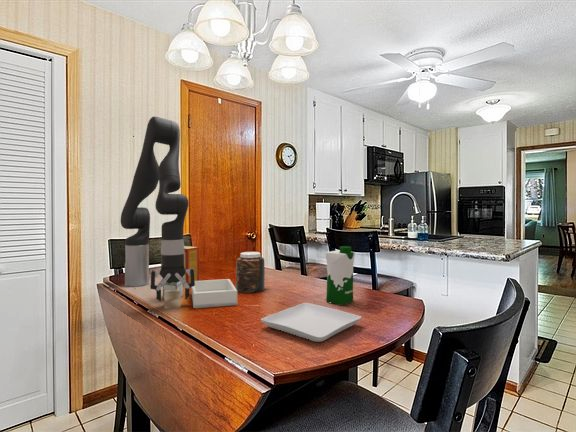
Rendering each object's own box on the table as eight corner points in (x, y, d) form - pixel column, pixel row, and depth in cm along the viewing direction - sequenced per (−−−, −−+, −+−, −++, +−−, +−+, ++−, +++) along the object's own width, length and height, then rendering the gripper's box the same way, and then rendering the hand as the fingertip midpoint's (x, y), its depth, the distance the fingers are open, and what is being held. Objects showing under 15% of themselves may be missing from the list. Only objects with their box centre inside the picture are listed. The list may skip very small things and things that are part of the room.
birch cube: (164, 308, 115) (164, 294, 115) (165, 304, 120) (165, 290, 120) (180, 307, 117) (180, 292, 116) (180, 303, 121) (180, 289, 121)
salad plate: (320, 350, 83) (321, 336, 83) (258, 329, 97) (258, 317, 97) (363, 327, 99) (363, 315, 99) (305, 312, 113) (305, 301, 113)
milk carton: (344, 307, 118) (345, 248, 117) (322, 302, 123) (322, 246, 123) (356, 301, 124) (357, 246, 124) (335, 297, 130) (335, 244, 130)
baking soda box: (172, 282, 154) (172, 246, 153) (184, 279, 159) (184, 245, 159) (187, 285, 149) (187, 248, 148) (198, 282, 154) (198, 246, 154)
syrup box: (183, 295, 131) (183, 257, 131) (177, 300, 125) (176, 260, 125) (169, 295, 132) (168, 257, 131) (162, 299, 126) (161, 259, 126)
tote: (193, 308, 115) (193, 293, 115) (191, 294, 134) (191, 281, 134) (237, 304, 120) (237, 290, 119) (229, 291, 138) (229, 278, 138)
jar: (267, 292, 137) (267, 254, 137) (237, 294, 134) (237, 255, 134) (262, 285, 149) (262, 250, 148) (234, 287, 146) (234, 251, 145)
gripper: (193, 250, 123) (194, 295, 124) (151, 252, 119) (151, 298, 119) (194, 253, 116) (195, 301, 117) (149, 255, 112) (149, 304, 112)
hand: (173, 300), depth 118 cm, fingers open, 8 cm apart
